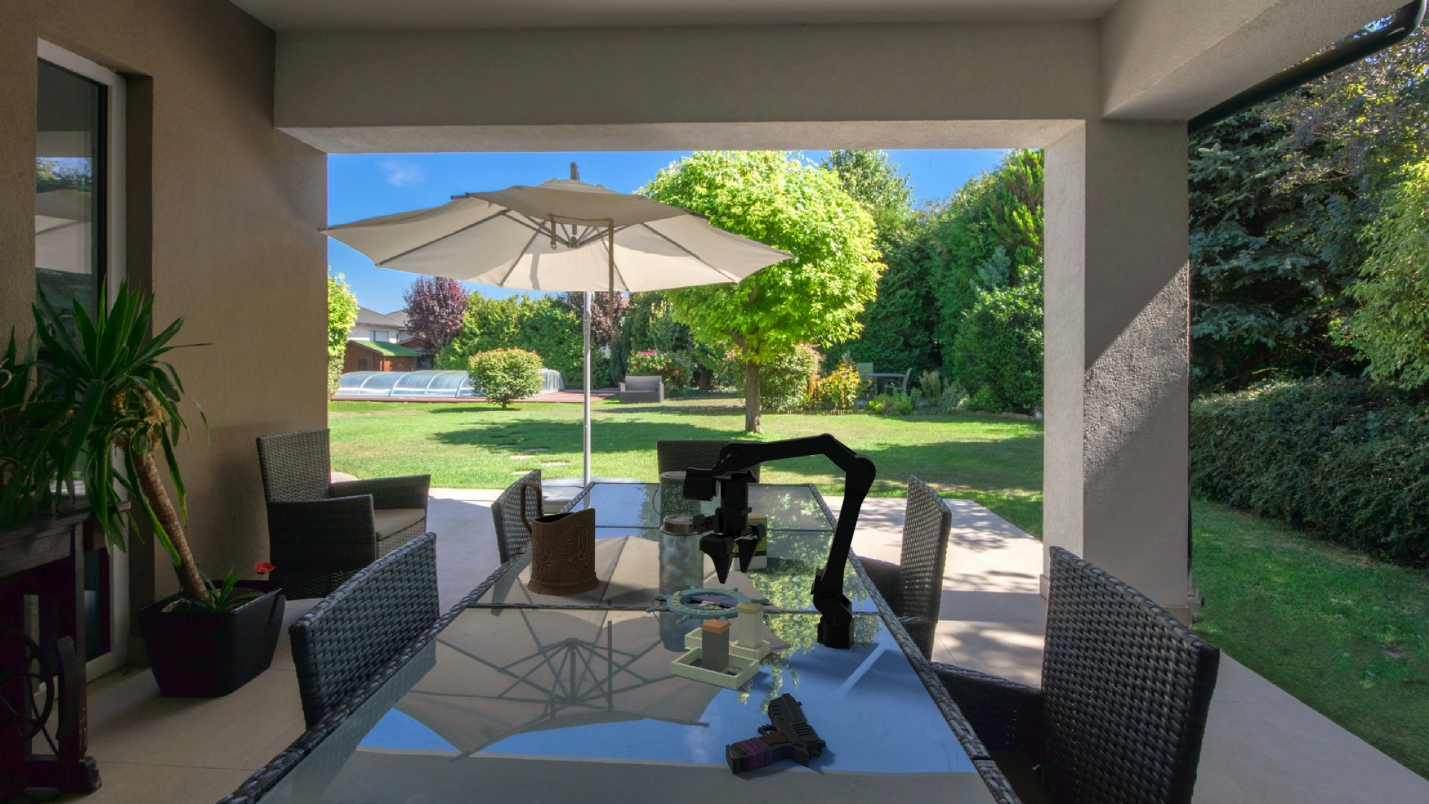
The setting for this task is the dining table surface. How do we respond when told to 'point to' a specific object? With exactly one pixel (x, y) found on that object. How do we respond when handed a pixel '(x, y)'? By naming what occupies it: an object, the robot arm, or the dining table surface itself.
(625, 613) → the dining table surface
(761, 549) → the tea box
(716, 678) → the tray
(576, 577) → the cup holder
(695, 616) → the decorative ship wheel
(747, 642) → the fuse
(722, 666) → the block
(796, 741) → the handgun
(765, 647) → the fuse block
